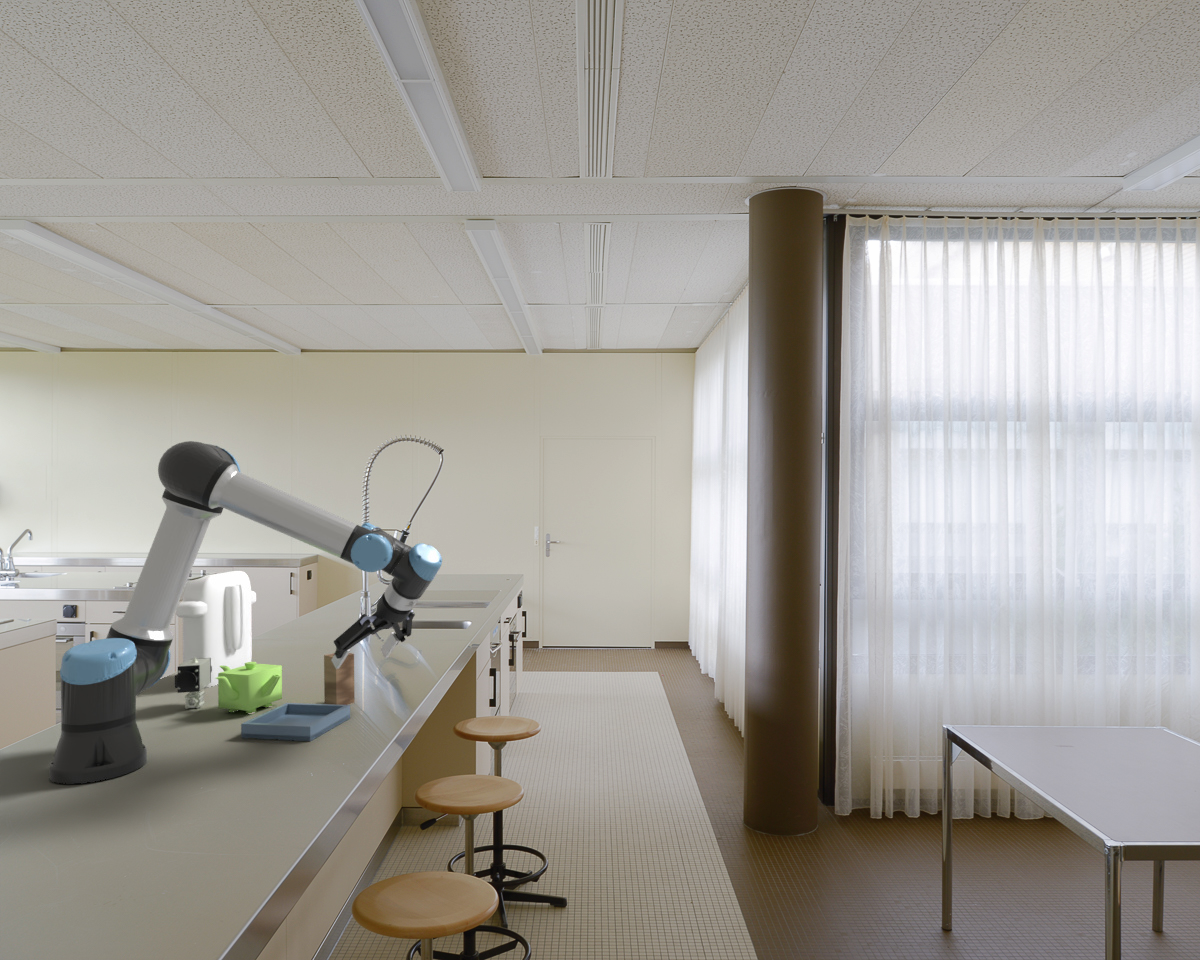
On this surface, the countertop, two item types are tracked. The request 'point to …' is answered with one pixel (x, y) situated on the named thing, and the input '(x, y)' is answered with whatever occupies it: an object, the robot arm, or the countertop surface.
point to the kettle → (249, 686)
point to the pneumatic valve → (193, 680)
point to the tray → (296, 721)
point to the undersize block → (339, 681)
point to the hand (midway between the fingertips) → (360, 658)
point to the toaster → (218, 620)
